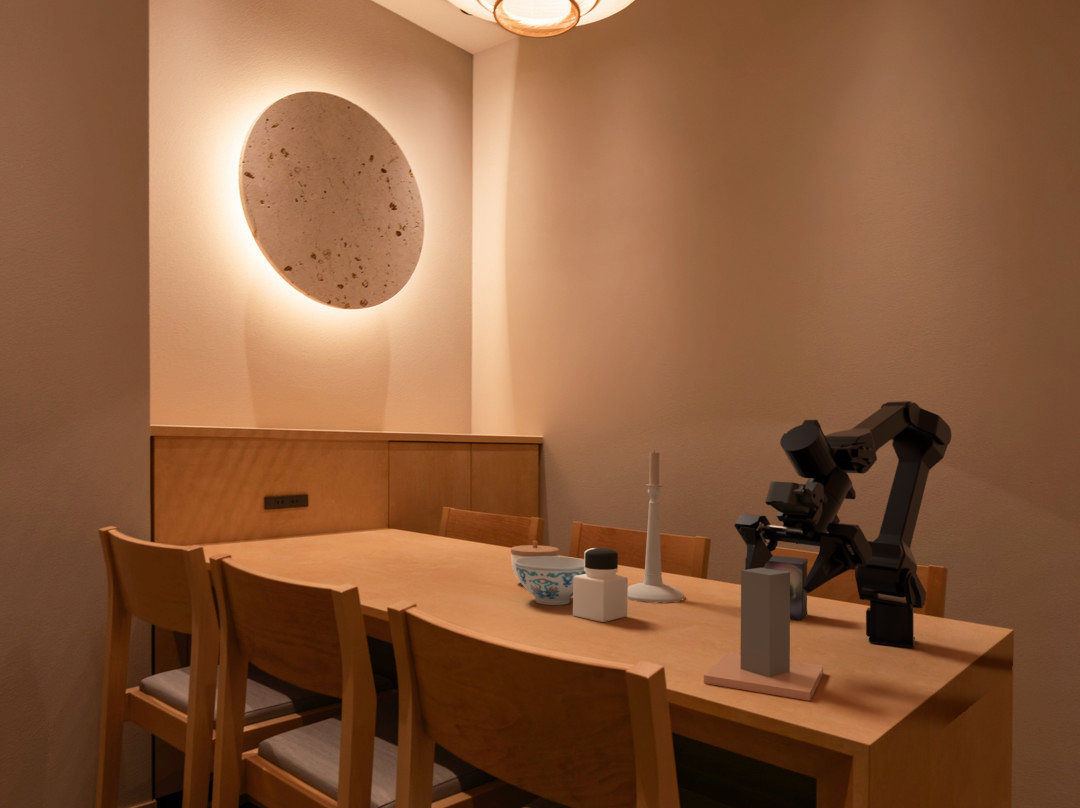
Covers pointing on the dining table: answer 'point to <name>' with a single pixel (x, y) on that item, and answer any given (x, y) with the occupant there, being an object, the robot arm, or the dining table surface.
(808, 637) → the dining table surface
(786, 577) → the grey block
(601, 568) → the medicine bottle
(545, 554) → the lidded jar
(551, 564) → the chinaware
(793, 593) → the small box
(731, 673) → the terracotta tile
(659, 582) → the candlestick
